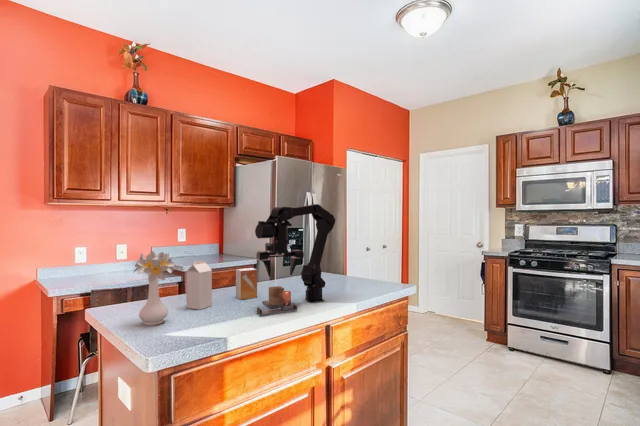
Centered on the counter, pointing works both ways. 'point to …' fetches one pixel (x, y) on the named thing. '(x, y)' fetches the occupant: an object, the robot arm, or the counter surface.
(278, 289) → the block
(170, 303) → the counter surface
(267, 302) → the plate
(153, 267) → the flower vase
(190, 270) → the milk carton
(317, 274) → the robot arm
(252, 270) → the small box
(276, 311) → the rail
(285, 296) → the handle
